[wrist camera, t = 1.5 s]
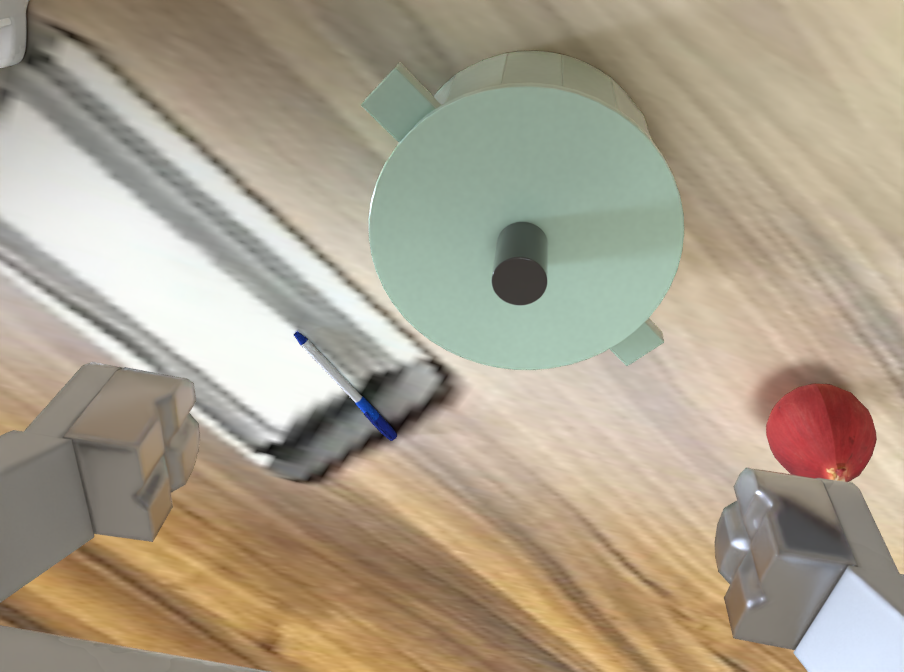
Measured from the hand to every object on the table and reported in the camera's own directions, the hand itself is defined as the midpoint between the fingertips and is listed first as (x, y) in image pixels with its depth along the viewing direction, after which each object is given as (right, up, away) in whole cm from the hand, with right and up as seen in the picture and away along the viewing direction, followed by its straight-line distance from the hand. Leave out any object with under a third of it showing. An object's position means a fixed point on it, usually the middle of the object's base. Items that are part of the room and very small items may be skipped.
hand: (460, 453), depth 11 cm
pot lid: (+3, +6, +24) cm, 25 cm away
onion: (+22, -2, +37) cm, 43 cm away
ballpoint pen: (-7, -1, +41) cm, 41 cm away
